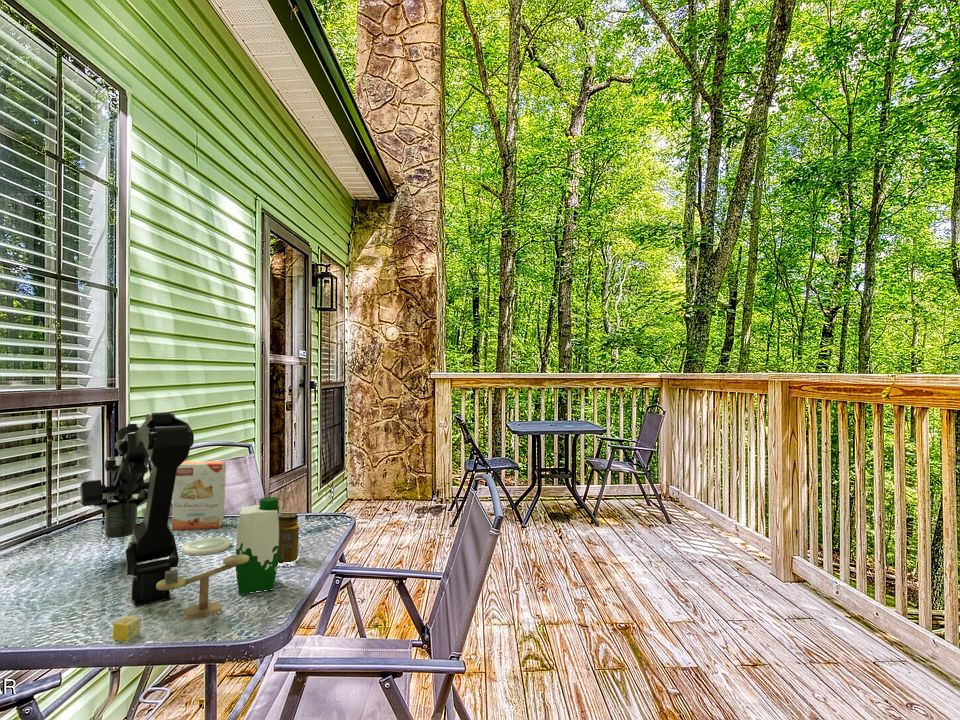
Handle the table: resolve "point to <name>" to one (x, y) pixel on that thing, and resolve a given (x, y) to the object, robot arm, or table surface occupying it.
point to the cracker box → (199, 495)
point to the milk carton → (258, 546)
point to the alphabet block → (126, 628)
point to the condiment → (288, 537)
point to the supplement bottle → (121, 516)
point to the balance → (204, 607)
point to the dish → (206, 546)
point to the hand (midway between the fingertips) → (120, 508)
